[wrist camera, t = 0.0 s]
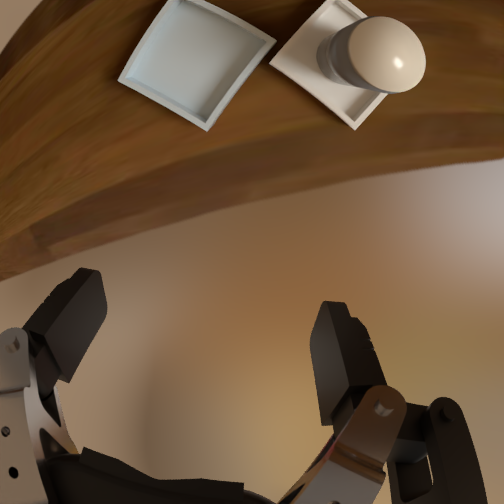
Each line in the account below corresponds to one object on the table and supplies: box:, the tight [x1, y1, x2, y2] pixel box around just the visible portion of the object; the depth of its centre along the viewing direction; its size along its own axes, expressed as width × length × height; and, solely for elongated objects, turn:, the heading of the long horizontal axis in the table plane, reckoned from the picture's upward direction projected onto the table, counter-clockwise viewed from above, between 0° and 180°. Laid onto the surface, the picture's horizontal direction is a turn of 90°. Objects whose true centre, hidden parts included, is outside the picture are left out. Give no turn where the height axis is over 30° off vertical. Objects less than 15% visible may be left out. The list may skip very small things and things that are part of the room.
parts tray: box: [269, 0, 388, 130], centre depth 21 cm, size 10×10×2 cm
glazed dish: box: [118, 0, 277, 131], centre depth 21 cm, size 11×11×2 cm
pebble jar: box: [316, 16, 426, 94], centre depth 16 cm, size 6×6×11 cm
